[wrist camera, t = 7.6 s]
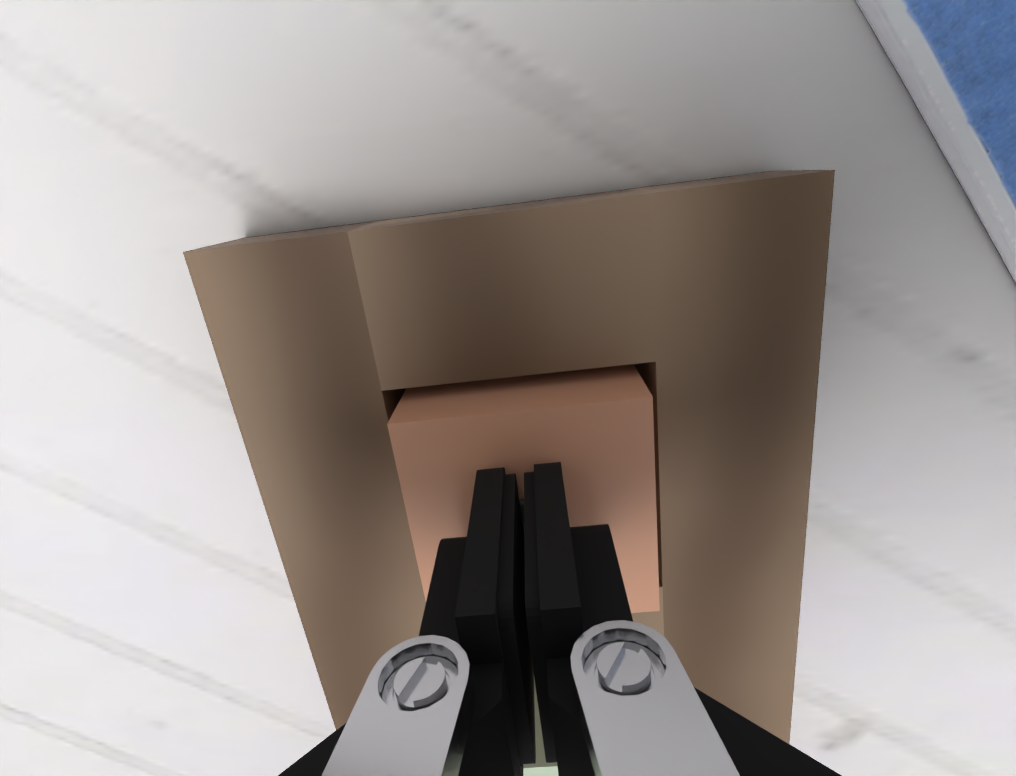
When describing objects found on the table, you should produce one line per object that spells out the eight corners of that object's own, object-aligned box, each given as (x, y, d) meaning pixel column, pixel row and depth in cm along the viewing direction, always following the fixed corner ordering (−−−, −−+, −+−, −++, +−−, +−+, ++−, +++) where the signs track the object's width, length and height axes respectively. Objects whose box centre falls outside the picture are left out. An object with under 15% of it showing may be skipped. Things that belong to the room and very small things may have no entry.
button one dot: (624, 349, 13) (655, 401, 10) (634, 528, 15) (661, 617, 12) (415, 371, 13) (384, 428, 10) (448, 544, 15) (430, 635, 12)
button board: (774, 170, 12) (834, 170, 10) (741, 928, 22) (767, 1018, 20) (243, 238, 13) (182, 252, 11) (441, 941, 23) (431, 1028, 21)
